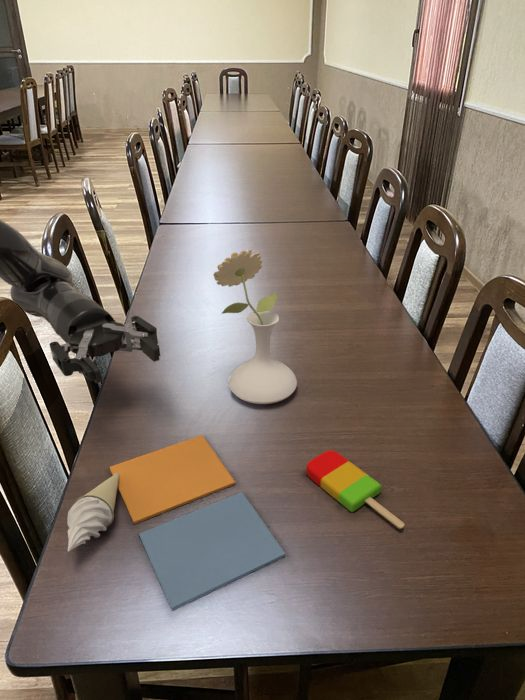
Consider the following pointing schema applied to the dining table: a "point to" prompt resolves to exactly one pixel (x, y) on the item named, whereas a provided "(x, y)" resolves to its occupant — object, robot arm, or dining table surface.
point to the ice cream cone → (92, 513)
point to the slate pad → (209, 549)
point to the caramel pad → (170, 478)
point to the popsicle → (347, 483)
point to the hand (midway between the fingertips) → (128, 365)
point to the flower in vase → (261, 371)
